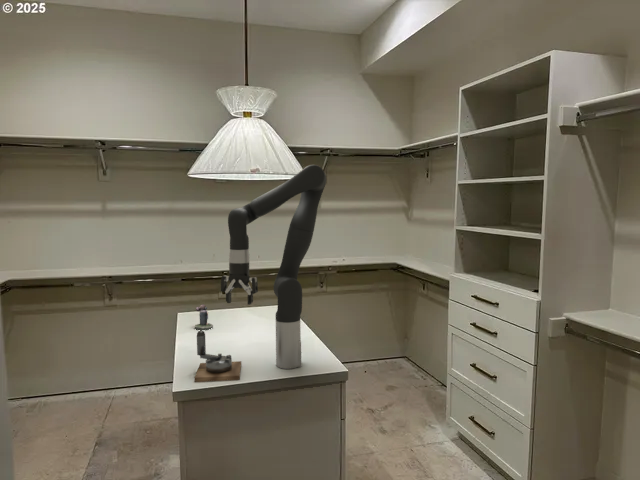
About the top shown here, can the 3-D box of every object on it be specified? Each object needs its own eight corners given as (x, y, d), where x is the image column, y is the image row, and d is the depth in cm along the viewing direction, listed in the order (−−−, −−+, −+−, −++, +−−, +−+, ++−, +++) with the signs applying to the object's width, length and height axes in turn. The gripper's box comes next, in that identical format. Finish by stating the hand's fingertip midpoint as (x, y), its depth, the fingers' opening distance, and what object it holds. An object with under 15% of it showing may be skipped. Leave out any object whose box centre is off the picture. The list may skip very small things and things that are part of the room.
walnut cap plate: (241, 365, 168) (241, 360, 168) (239, 379, 154) (239, 375, 154) (200, 367, 166) (200, 362, 166) (194, 382, 152) (194, 377, 152)
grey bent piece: (237, 365, 162) (236, 330, 161) (222, 374, 154) (221, 337, 153) (206, 360, 167) (205, 326, 166) (190, 369, 159) (189, 333, 158)
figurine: (202, 331, 212) (201, 306, 211) (191, 328, 217) (190, 304, 216) (216, 327, 218) (216, 303, 217) (205, 324, 223) (204, 301, 222)
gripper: (260, 261, 171) (260, 303, 172) (226, 259, 175) (226, 300, 176) (252, 263, 163) (252, 307, 165) (217, 261, 167) (217, 304, 168)
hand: (239, 303), depth 170 cm, fingers open, 8 cm apart
